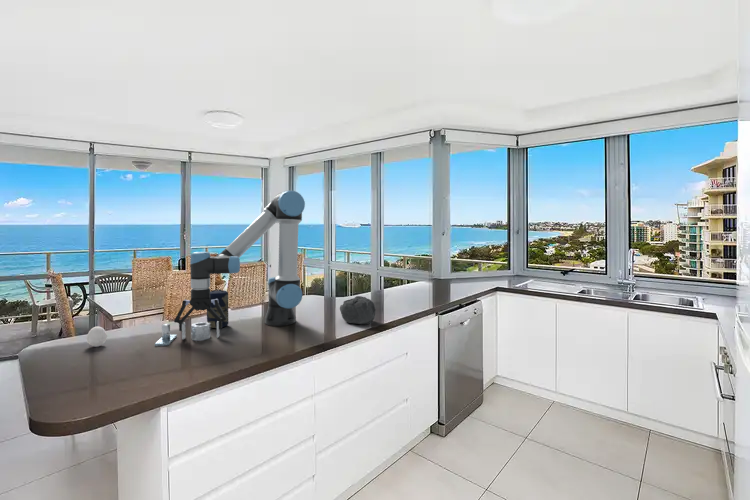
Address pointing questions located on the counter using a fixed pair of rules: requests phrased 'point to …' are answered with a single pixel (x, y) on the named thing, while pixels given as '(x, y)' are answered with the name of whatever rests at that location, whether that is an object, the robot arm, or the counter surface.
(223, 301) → the canister
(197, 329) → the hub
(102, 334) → the egg
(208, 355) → the counter surface
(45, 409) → the counter surface
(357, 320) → the rock
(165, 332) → the shaft stand
